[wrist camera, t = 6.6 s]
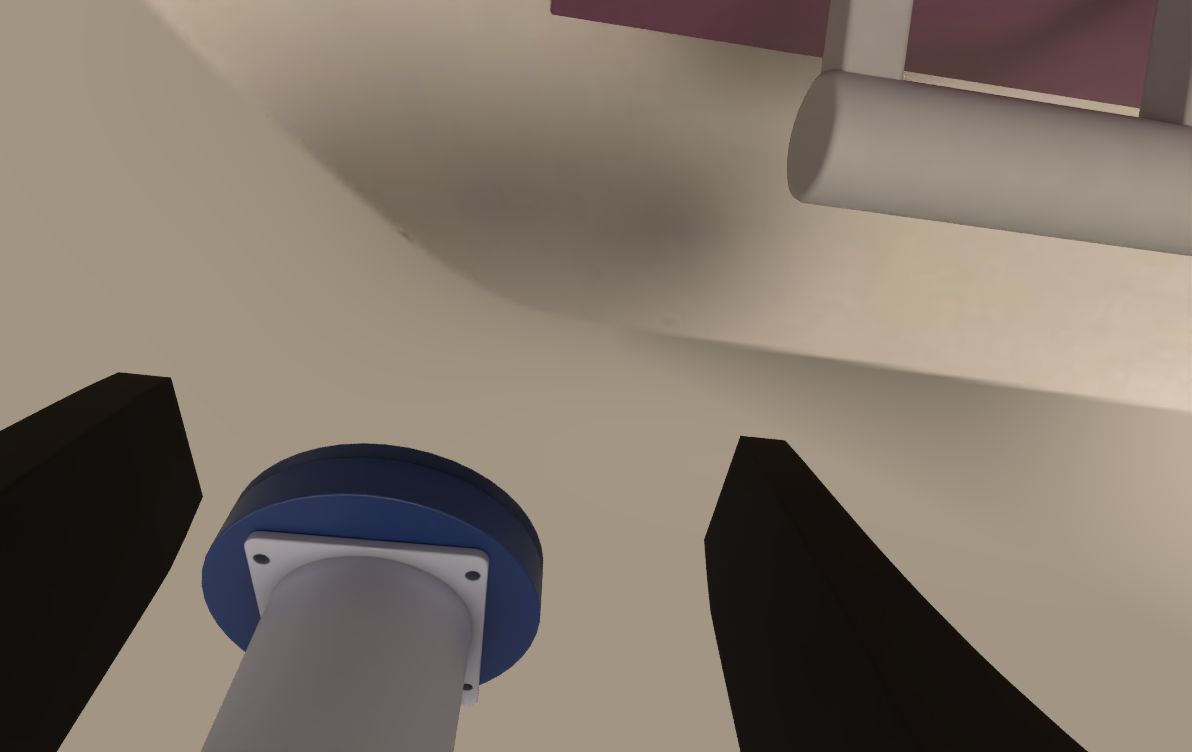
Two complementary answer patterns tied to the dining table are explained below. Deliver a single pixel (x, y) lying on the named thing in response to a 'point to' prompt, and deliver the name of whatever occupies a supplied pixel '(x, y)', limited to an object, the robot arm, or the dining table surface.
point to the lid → (976, 107)
